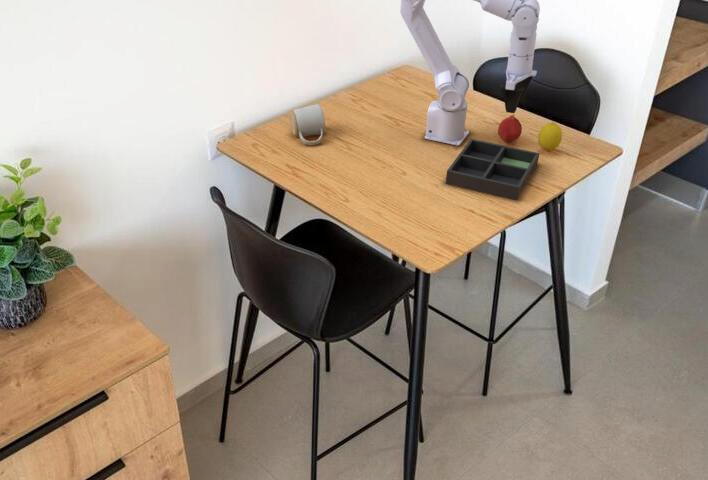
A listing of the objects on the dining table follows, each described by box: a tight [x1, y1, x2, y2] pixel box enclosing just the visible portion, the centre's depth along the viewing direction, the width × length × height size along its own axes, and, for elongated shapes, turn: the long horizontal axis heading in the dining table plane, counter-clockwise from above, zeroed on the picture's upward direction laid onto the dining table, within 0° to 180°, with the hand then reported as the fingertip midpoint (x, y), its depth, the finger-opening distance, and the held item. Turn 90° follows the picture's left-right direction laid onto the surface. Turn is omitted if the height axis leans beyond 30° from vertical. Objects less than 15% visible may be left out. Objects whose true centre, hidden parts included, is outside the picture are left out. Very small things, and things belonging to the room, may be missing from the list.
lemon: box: [537, 121, 563, 153], centre depth 188 cm, size 6×6×8 cm
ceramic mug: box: [289, 103, 326, 146], centre depth 199 cm, size 11×8×8 cm
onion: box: [497, 114, 523, 145], centre depth 192 cm, size 6×6×8 cm
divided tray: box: [445, 138, 541, 201], centre depth 182 cm, size 17×17×4 cm
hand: (515, 105), depth 188 cm, fingers open, 7 cm apart
